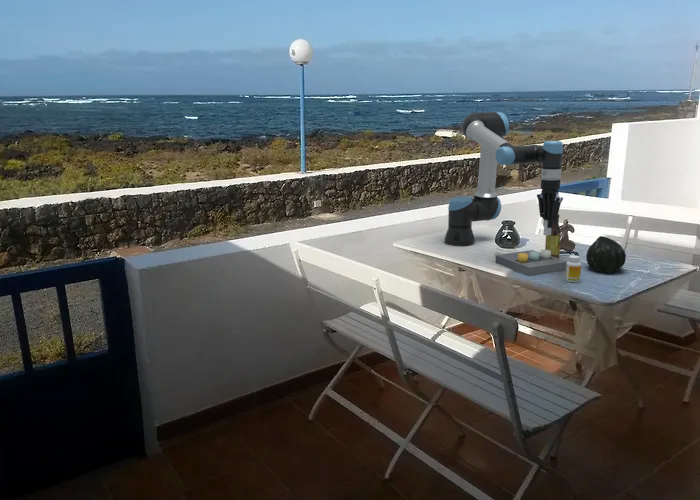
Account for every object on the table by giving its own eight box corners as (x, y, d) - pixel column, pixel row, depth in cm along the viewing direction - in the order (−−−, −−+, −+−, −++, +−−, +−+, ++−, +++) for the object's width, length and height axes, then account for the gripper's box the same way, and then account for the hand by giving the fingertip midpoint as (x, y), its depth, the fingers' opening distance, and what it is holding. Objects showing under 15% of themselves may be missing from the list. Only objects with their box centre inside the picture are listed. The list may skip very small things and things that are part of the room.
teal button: (527, 260, 225) (527, 251, 224) (534, 259, 227) (535, 250, 226) (533, 263, 222) (534, 253, 221) (541, 261, 223) (541, 252, 222)
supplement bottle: (583, 281, 205) (585, 257, 202) (571, 283, 203) (573, 259, 201) (573, 277, 210) (575, 254, 207) (562, 279, 208) (563, 255, 205)
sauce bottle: (560, 259, 236) (563, 215, 231) (545, 259, 237) (548, 215, 232) (557, 255, 242) (561, 213, 237) (543, 255, 243) (546, 212, 238)
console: (495, 262, 233) (495, 255, 232) (531, 257, 240) (532, 249, 239) (529, 275, 213) (529, 267, 212) (567, 269, 220) (568, 261, 219)
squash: (639, 260, 212) (619, 228, 218) (615, 267, 206) (595, 234, 211) (614, 275, 224) (595, 245, 229) (590, 282, 217) (571, 251, 223)
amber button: (515, 262, 223) (516, 253, 222) (523, 261, 225) (523, 252, 224) (521, 264, 220) (522, 255, 219) (529, 263, 221) (530, 254, 220)
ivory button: (538, 259, 227) (538, 250, 226) (545, 258, 229) (546, 249, 228) (544, 261, 224) (545, 252, 223) (552, 260, 225) (552, 251, 224)
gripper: (532, 178, 222) (529, 232, 228) (555, 181, 211) (551, 238, 216) (546, 177, 225) (543, 231, 231) (569, 180, 213) (565, 236, 219)
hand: (547, 234), depth 223 cm, fingers closed
